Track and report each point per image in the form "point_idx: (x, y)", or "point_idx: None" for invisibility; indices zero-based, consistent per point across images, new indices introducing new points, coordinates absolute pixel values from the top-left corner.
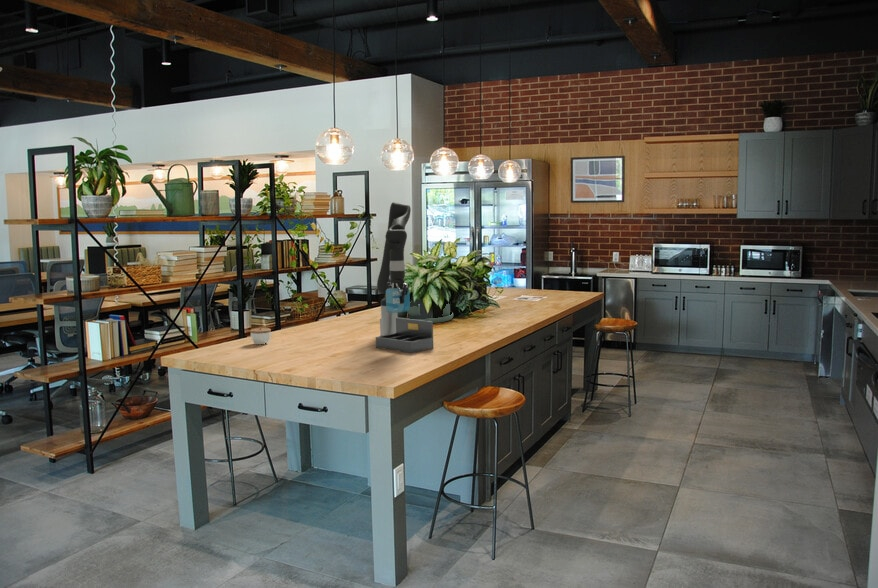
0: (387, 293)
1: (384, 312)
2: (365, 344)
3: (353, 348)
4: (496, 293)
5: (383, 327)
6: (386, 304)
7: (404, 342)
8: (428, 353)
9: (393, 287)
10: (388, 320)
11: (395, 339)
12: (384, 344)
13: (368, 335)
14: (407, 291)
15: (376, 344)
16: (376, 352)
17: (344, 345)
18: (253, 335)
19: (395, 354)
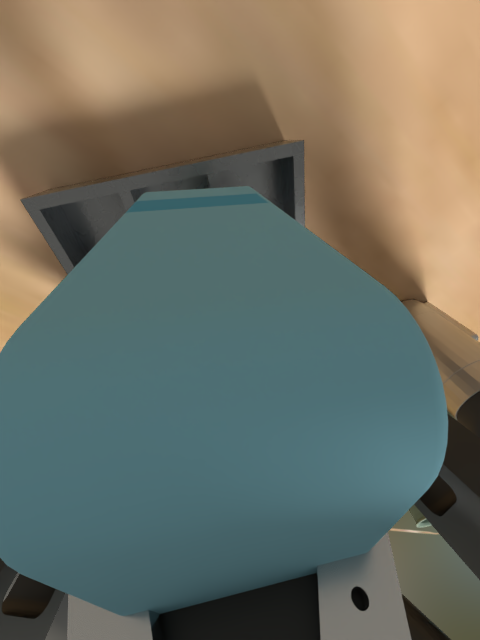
0: (263, 277)
1: (474, 356)
2: (381, 156)
3: (373, 16)
4: (431, 533)
5: (430, 316)
6: (256, 198)
7: (80, 186)
8: (11, 244)
9: (325, 604)
10: (429, 342)
11: (161, 182)
12: (231, 153)
13: (467, 275)
14: (21, 583)
15: (287, 141)
16: (180, 42)
17: (467, 42)
18: None
19: (60, 96)
